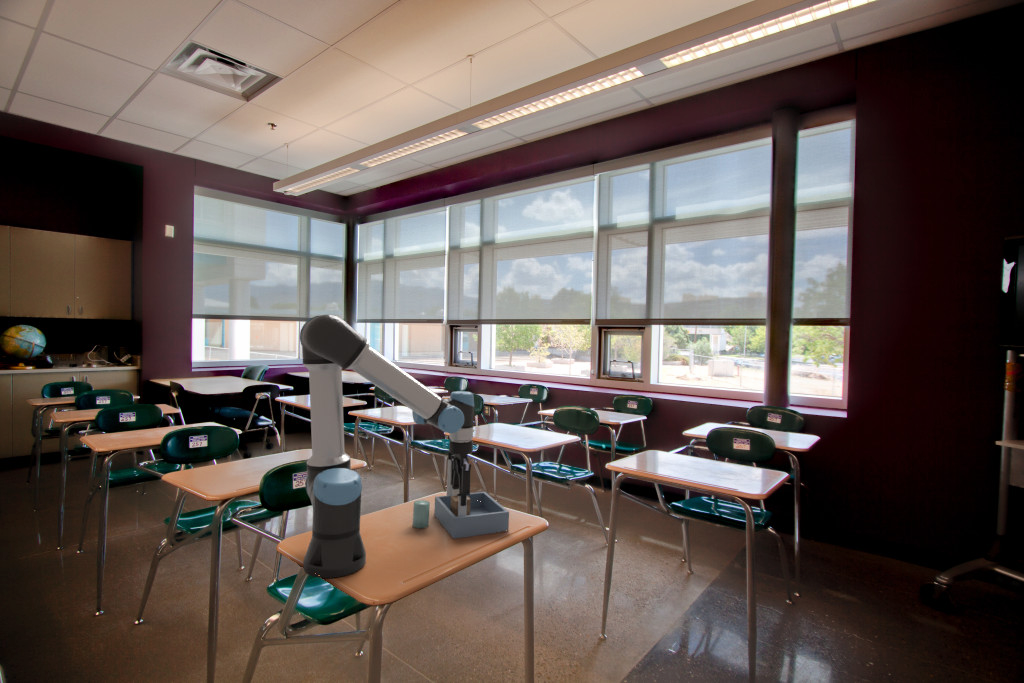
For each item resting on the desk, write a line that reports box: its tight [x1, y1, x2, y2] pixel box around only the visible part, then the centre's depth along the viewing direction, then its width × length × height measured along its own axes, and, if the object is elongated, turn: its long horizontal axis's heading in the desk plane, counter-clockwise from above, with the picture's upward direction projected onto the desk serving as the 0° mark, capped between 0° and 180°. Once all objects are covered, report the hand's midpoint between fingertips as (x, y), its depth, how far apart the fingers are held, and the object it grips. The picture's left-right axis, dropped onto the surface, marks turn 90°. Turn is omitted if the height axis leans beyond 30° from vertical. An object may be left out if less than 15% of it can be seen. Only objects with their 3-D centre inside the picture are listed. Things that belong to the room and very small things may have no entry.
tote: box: [433, 491, 510, 539], centre depth 159 cm, size 18×21×6 cm
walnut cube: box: [451, 496, 470, 517], centre depth 157 cm, size 5×5×5 cm
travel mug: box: [446, 450, 454, 496], centre depth 174 cm, size 6×7×20 cm
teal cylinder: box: [412, 499, 431, 529], centre depth 155 cm, size 5×5×7 cm
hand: (459, 512), depth 157 cm, fingers closed on walnut cube, 5 cm apart
